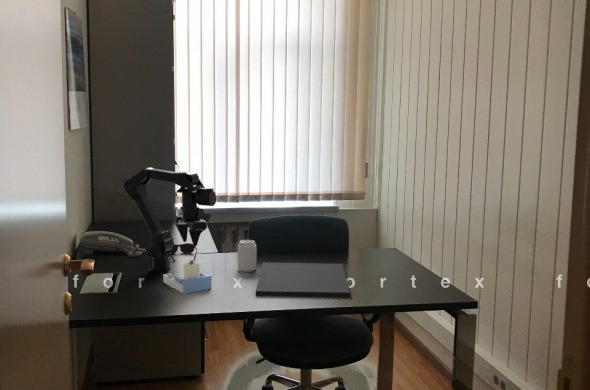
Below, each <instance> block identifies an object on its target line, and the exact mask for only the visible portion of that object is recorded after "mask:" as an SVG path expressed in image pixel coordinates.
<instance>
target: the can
mask: <svg viewBox="0 0 590 390" xmlns="http://www.w3.org/2000/svg"><path fill="white" fill-rule="evenodd" d="M256 269H257V244H256V243H255V240H252V239H242V240H240V241H239V243H238V244H237V270H239V272H242V273H252V272H254V271H255V270H256Z"/></svg>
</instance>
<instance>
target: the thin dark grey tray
mask: <svg viewBox="0 0 590 390" xmlns="http://www.w3.org/2000/svg"><path fill="white" fill-rule="evenodd" d="M345 271H346V270H345V268H344V265H343V263H319V262H318V263H316V262H315V263H311V262H310V263H309V262H308V263H305V262H262V264H261V268H260V272H259V276H258V280H257V284H256V289H255V297H280V298H281V297H287V298H288V297H291V298H292V297H293V298H294V297H295V298H298V297H299V298H343V299H344V298H346V299H347V298H351V291H350V286H349V283H348V279H347V277H346V272H345Z"/></svg>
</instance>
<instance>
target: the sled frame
mask: <svg viewBox="0 0 590 390" xmlns="http://www.w3.org/2000/svg"><path fill="white" fill-rule="evenodd" d="M162 277H163V283H164V284H166V285H168V286H169V287H171V288H172V287H173V288H172V289H174V288H175V289H174V290H175V291H177V290H178V291H177V292H179V291H180V292H179V293H181V292H182V293H181V294H182V295H185V294H184V293H187V294H191V293H190V292H193V293H197V291H198V292H203V291H202V290H204V291H209V290H208V289H210V290H212V288H213V287H212V286H213V285H212V283H213V282H212V280H213V279H212V275H210V274H209V275H208V274H206V273H204V272H199V277H195V278H189V279H184V278H183V279H182V278H181V277H179V276H173V274H172V273H170V272H169V273H167V274H166V273H165V274H163V275H162Z"/></svg>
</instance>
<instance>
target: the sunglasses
mask: <svg viewBox="0 0 590 390" xmlns="http://www.w3.org/2000/svg"><path fill="white" fill-rule="evenodd" d="M178 250H180V252H181V253H183V254H192V253H193V252H195V254H194V257H193V262H196V257H197V254H198V248H197V246H193V243H190V242H189V243H188V242H184V243H182V244H176V243H174V245H173V248H172V249H171V251H170V253H169V254H167V255H168V256H170V257H171V259H172V262H174V263H176V259H175V258H174V257H173V255H174V254H176V253H177V252H178Z"/></svg>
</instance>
